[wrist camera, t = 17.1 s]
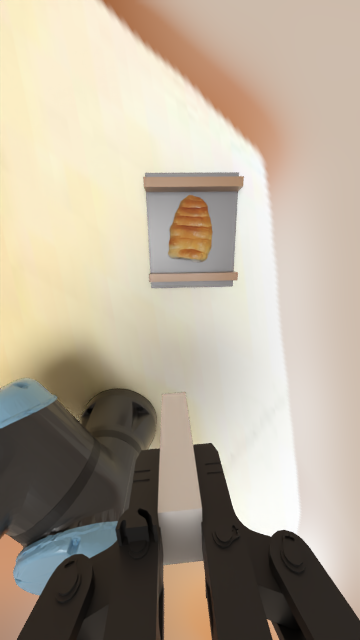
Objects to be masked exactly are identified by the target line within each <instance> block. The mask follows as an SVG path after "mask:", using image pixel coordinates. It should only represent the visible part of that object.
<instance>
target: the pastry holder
mask: <svg viewBox="0 0 360 640" xmlns="http://www.w3.org/2000/svg"><path fill="white" fill-rule="evenodd" d="M243 178H244V176H239V173H145V177H144V188H145V191H146V199H147V217H148V235H149V253H150V271H151V273H150V274H149V282H151V288H177V287H223V286H233V280H237V277H238V272H233V269H234V251H235V233H236V215H237V196H238V191H239V190H240V189H241V188H242V187H243ZM188 195H193V196H196V197H200V198H201V199H203V200H204V202H205V203H206V204H207V206H208V213H209V216H210V219H211V224H212V232H213V233H212V246H211V250H210V252H209V254H208V257H207V259H206V260H205V261H203V262H193V261H192V260H190V259H188V260H185V259H174V258H171V257H170V256H169V255H168V251H169V240H170V227H171V225H172V223H173V220H174V216H175V213H176V211H177V209H178V208H179V205H180V202H181V201H182V200H183V199H184V198H186V197H187V196H188Z"/></svg>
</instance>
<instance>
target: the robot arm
mask: <svg viewBox="0 0 360 640" xmlns="http://www.w3.org/2000/svg"><path fill="white" fill-rule="evenodd" d="M57 398H58V397H57V396H56V395H52V394H51V393H50V392H49V391H48V390H47V389H45V388H44V387H43V386H42V385H41V384H40V383H39V382H37V381H36V380H34V379H31V378H21V379H18V380H15V381H13V382H11V383H9V384H7V385H5V386H4V387H2V388H0V539H1V537H2V536H3V535H4V534H7V535H9V536H10V537H12V538H13V539H14V540H16V541H17V542H19V543H21V545H22V546H23V550H22V551H21V552H20V553H19V555H18V556H17V559H16V565H15V568H14V571H13V574H14V578H15V581H16V584H17V585H18V586H19V587H20V588H22V589H23V590H25V591H27V592H29V593H32V594H35V595H40V597H39V599H38V600H37V602H36V604H35V606H34V608H33V610H32V612H31V614H30V616H29V618H28V619H27V621H26V623H25V625H24V627H23V629H22V631H21V632H20V635H19V636H18V638H17V640H164V585H163V565H170V564H178V563H186V562H195V561H204V569H205V582H206V598H207V601H208V609H209V618H210V627H211V635H212V640H272V636H271V633H270V629H269V625H268V622H267V619H268V620H271V622H272V624H273V626H274V628H275V631H276V633H277V635H278V638H279V640H360V620H359V618H358V617H357V616H356V614H355V613H354V611H353V610H352V608H351V607H350V605H349V604H348V603H347V601H346V600H345V598H344V597H343V595H342V594H341V592H340V591H339V589H338V588H337V587H336V585H335V584H334V582H333V581H332V579H331V578H330V577H329V575H328V574H327V572H326V571H325V569H324V568H323V566H322V565H321V564H320V562H319V561H318V559H317V558H316V556H315V555H314V553H313V552H312V551H311V549H310V548H309V546H308V545H307V544H306V543H305V542H304V541H303V540H302V539H301V538H300V537H299V536H297V535H296V534H294V533H293V532H290V531H286V530H281V531H277V532H276V533H275V534H273V535H272V537H270V536H267V535H263V534H260V533H257V532H254V531H252V530H250V529H248V528H247V527H246V526H244V525H243V524H242V523H241V522H240V521H239V519H238V518H237V516H236V514H235V512H234V509H233V506H232V503H231V499H230V495H229V491H228V488H227V484H226V480H225V476H224V473H223V469H222V465H221V461H220V458H219V454H218V451H217V450H216V449H215V447H214V446H213V445H212V443H208V444H197V445H193V442H192V434H191V427H190V420H189V413H188V406H187V399H186V392H180V393H168V394H162V407H161V435H160V449H150V450H148V448H149V446H150V444H151V442H152V440H153V438H154V436H155V432H156V424H157V417H156V413H155V410H154V408H153V406H152V405H151V403H150V402H149V401H148V400H147V399H146V398H144V397H143V396H141V395H140V394H138V393H136V392H133V391H130V390H125V389H112V390H107V391H104V392H102V393H99V394H98V395H96V396H95V397H93V398H92V399H91V400H90V401H89V403H88V404H87V406H86V408H85V409H84V411H83V413H82V415H81V418H80V422H79V421H78V420H77V419H76V418H75V417H74V416H73V415H72V414H71V413H70V412H69V411H68V410H67V409H66V408H65V407H64V406H63V405H62V404H61V403H60V402H59V401H58V400H57Z"/></svg>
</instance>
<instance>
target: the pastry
mask: <svg viewBox="0 0 360 640" xmlns="http://www.w3.org/2000/svg"><path fill="white" fill-rule="evenodd" d="M212 233H213V232H212V224H211V219H210V216H209V213H208V206H207V204H206V203H205V202H204V200H203V199H201V198H200V197H196V196H193V195H188V196H187V197H186V198H184V199H183V200H182V201H181V202H180V205H179V208H178V209H177V211H176V213H175V216H174V220H173V223H172V225H171V227H170V240H169V251H168V255H169V256H170V257H171V258H174V259H185V260H188V259H190V260H192V261H193V262H203V261H205V260H206V259H207V257H208V254H209V252H210V250H211V246H212Z"/></svg>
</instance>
